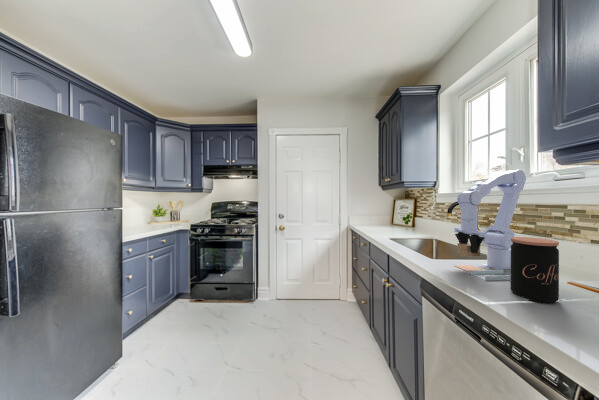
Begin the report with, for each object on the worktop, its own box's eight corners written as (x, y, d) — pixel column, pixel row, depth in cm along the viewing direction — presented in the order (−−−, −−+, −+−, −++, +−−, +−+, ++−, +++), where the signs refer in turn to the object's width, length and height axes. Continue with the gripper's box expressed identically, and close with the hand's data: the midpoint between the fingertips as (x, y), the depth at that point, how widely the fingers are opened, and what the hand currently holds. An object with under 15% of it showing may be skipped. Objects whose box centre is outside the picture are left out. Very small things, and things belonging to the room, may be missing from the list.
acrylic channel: (502, 274, 94) (502, 269, 94) (520, 281, 87) (520, 275, 87) (470, 275, 93) (470, 270, 93) (485, 282, 86) (485, 276, 86)
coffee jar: (520, 301, 70) (520, 241, 70) (504, 288, 80) (504, 236, 80) (568, 307, 66) (568, 244, 66) (545, 293, 76) (545, 238, 76)
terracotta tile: (471, 267, 105) (471, 265, 105) (484, 272, 98) (484, 270, 98) (454, 267, 104) (454, 265, 104) (466, 272, 97) (466, 270, 97)
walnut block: (470, 253, 102) (470, 243, 102) (480, 256, 97) (480, 245, 97) (457, 253, 102) (457, 243, 102) (466, 256, 97) (466, 245, 97)
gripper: (448, 218, 106) (448, 247, 106) (474, 221, 92) (474, 255, 92) (462, 217, 107) (462, 247, 107) (490, 221, 92) (491, 255, 93)
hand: (469, 251), depth 100 cm, fingers closed on walnut block, 5 cm apart
